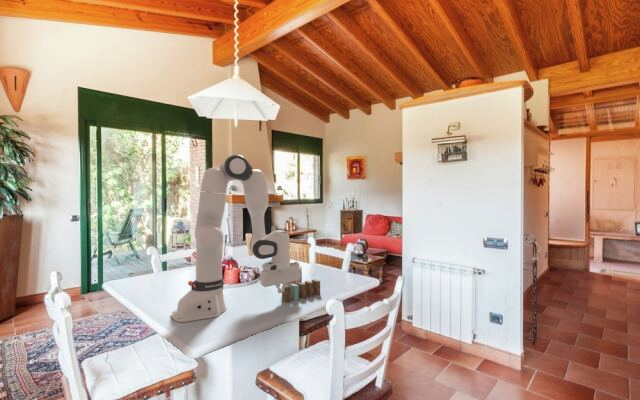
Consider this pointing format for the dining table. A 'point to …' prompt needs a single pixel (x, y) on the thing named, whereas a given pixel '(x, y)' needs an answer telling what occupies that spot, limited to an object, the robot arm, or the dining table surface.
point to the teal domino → (294, 292)
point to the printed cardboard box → (297, 280)
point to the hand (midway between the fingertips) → (281, 292)
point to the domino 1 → (287, 295)
